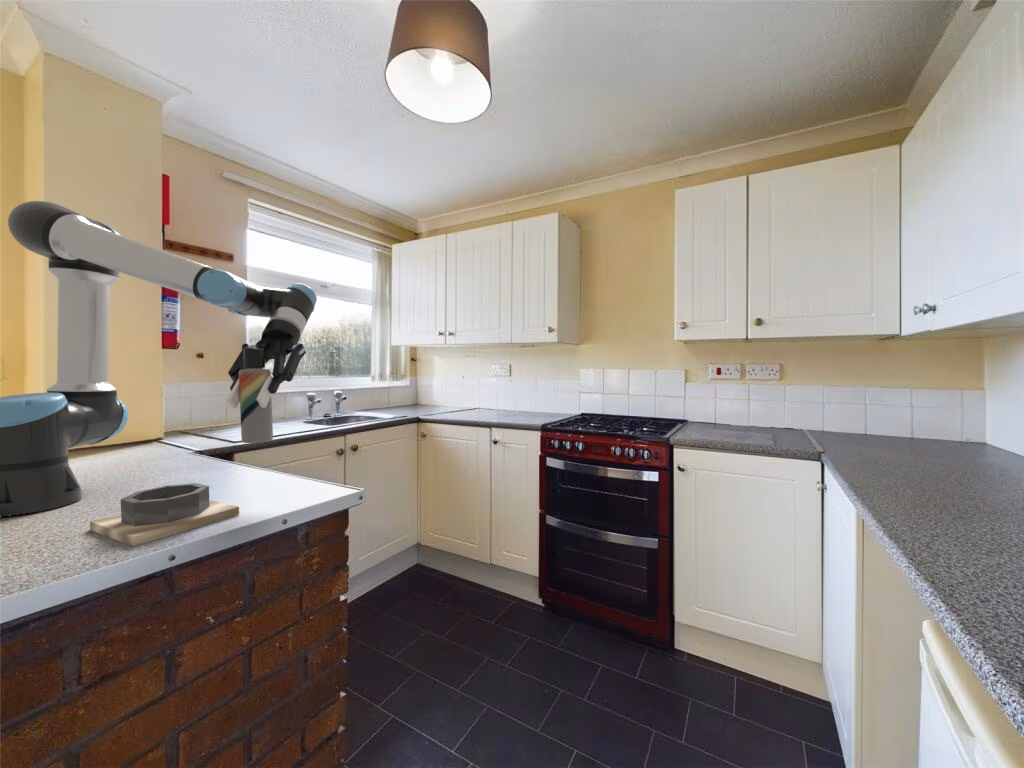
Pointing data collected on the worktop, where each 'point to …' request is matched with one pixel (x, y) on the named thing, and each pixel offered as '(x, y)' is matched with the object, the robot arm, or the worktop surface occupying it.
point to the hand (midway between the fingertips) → (246, 403)
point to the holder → (162, 513)
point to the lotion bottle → (254, 398)
